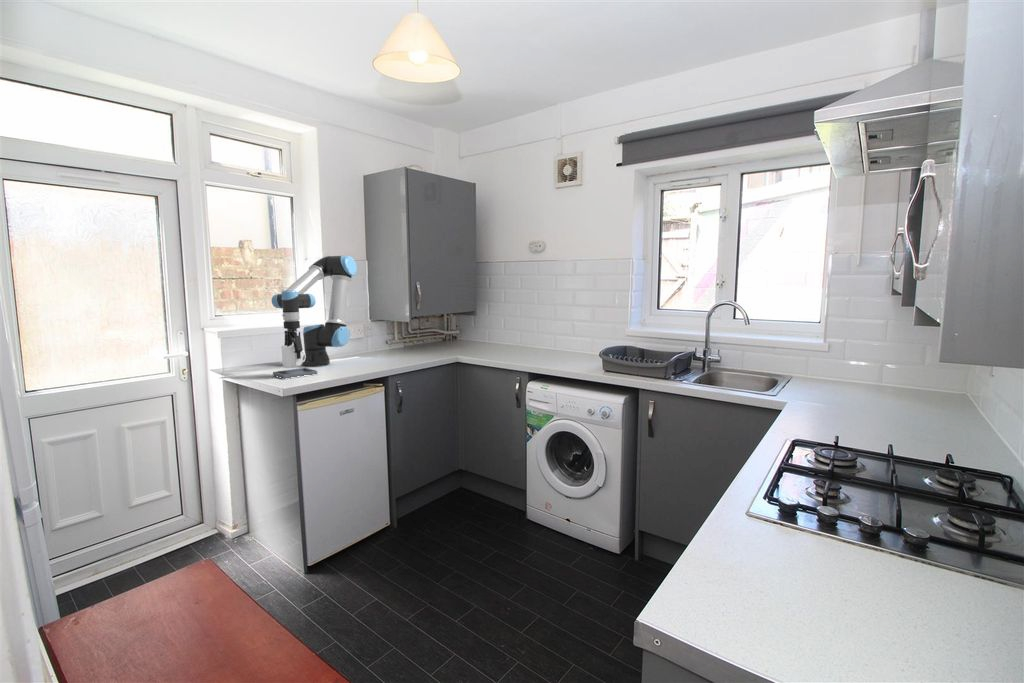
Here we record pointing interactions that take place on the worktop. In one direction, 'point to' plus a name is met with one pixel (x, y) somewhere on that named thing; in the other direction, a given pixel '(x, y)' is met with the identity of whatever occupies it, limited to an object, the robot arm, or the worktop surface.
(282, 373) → the holder tray
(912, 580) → the worktop surface
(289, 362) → the mug
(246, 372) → the worktop surface
